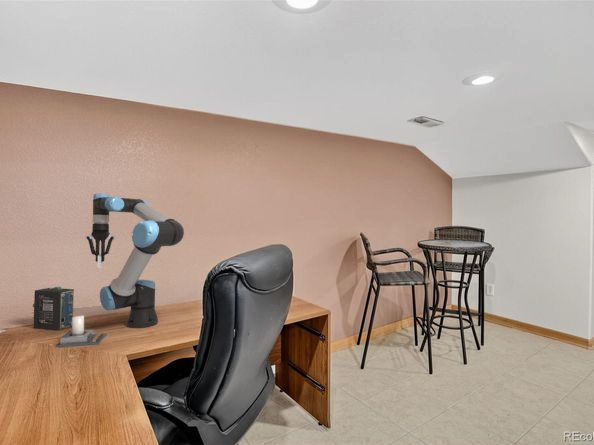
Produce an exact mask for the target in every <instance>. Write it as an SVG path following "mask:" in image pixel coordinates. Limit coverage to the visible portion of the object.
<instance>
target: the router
mask: <svg viewBox="0 0 594 445" xmlns="http://www.w3.org/2000/svg"><path fill="white" fill-rule="evenodd" d="M74 292H75V290H74V289H73V288H62V286H54V287H46V288H42V289H41V288H40V289H35V290H34V295H33V296H34V297H33V298H34V301H33V303H32V308H33V317H32V319H33V327H32V329H35V330H37V329H38V330H48V331H62V330H65V329H68V328H72V317H73V316H74Z"/></svg>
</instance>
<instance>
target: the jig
mask: <svg viewBox="0 0 594 445" xmlns="http://www.w3.org/2000/svg"><path fill="white" fill-rule="evenodd" d="M107 334H108V333H107V332H106V333H105V332H104V330H103V331H102V330H100V331H99V332H98V333H95V329H84V335H78V336H72V330H69V331H67V332H66V333H65V334H63V336H61V337H60V341H59V342H58V344H56V345H55V348H56V347H58V348H71V347H82V346H83V347H84V346H96V345H99V346H100V344H101V343H102V341H103V340H105V338H106V337H107Z"/></svg>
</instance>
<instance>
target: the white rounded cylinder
mask: <svg viewBox="0 0 594 445" xmlns="http://www.w3.org/2000/svg"><path fill="white" fill-rule="evenodd" d="M84 330H85V315H82V314H79V315H73V317H72V326H71V331H72V336H78V335H84Z"/></svg>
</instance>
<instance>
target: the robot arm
mask: <svg viewBox="0 0 594 445" xmlns="http://www.w3.org/2000/svg"><path fill="white" fill-rule="evenodd" d="M111 212H112V213H113V212H114V213H131V214H133V215H135V216H136V217H138V218H140V219H141V220H142V221H139V222H138V223H136V225H135V226H134V227H133V229H132V233H131V234H132V235H131V239H132V240H131V241H132V243H133V246H134V247H133V249H132V251H131V253H130V254H129V256H128V258H127V259H126V262H124V263H125V264H124V266H123V267H122V269H121V270H120V271H119V275H118V276H117V277H116V278H114V279H112V280H111V282H110V284H109V285H107V286H103V287H102V288H101V289H100V291H99V301H100V303H101V304H100V305H101V306H102V308H103V309H104V310H106V311H115V310H119V309H124V308H129V307H130V311H129V314H128V317H127V320H126V327H127V328H147V327H148V328H149V327H152V326H155V325H157V324H158V322H159V317H158V313H157V311H156V307H155V305H156V302H155V301H156V282H155V281H154V280H149V279H140V277H141V276H142V273H143V272H144V271H145V268H146V267H147V265H148V263H149V262H150V261H151V258H152V257H153V256H154V255H157V254H158V253H160V252H159V251H160V250H161V248H162V247H173V246H175V245H178V244H179V243H180V242H181V241H183V238H184V236H185V230H184V227H183V226H182V224H181V223H180V222H179V221H177V220H175V219H174V218H168V217H166V216H165V215H163V214H162V213H161V212H159V211H157V210H155V209H154V208H152V207H150V206H149V204H148V202H147V201H146V200H145V199H141V198H127V197H119V196H110V194H108V193H94V194H93V199H92V230H91V234H90V235H88V236H87V235H86V236H85V238H86V239H87V241H88V244H89V249H90V252H91V255H93V256H95V262H97V269H101V268H103V262H105V256H106V255H108V254H109V253H110V249H111V247H112V246H111V245H112V243H113V241H114V239H115V236H114V235H111V233H110V225H109V222H110V213H111ZM93 239H94V240H95V245H94V242H93ZM107 239H108V241H107V244H106V240H107Z"/></svg>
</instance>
